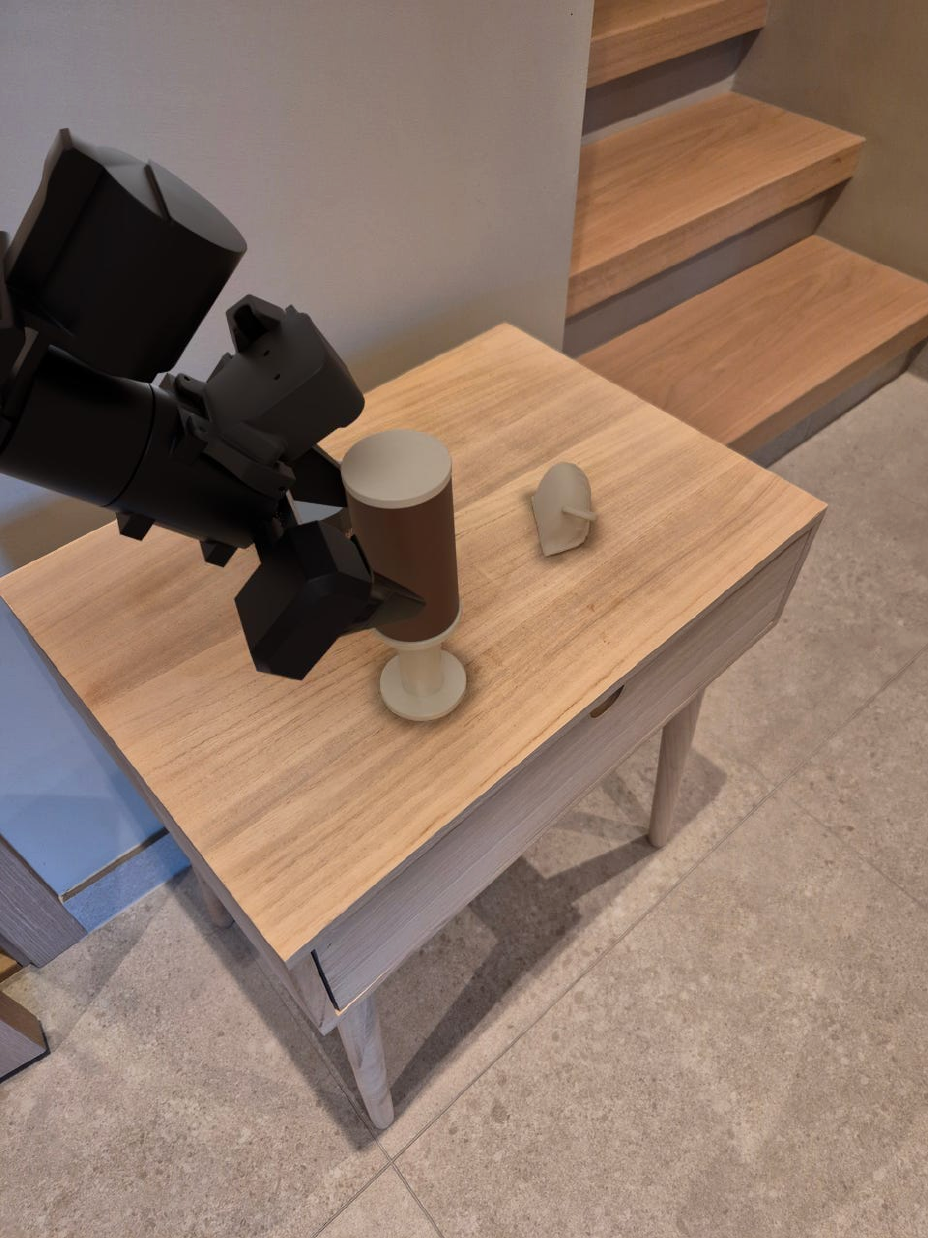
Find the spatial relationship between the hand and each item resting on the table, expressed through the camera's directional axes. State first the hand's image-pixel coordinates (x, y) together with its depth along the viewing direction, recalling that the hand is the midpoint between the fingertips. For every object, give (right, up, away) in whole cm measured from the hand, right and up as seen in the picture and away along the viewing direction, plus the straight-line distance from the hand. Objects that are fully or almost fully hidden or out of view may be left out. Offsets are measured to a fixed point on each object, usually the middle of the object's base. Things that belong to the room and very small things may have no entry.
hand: (392, 551), depth 47 cm
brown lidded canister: (+1, -3, +4) cm, 5 cm away
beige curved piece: (+12, +3, +20) cm, 23 cm away
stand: (+1, -8, +10) cm, 13 cm away
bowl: (-9, +5, +22) cm, 24 cm away
